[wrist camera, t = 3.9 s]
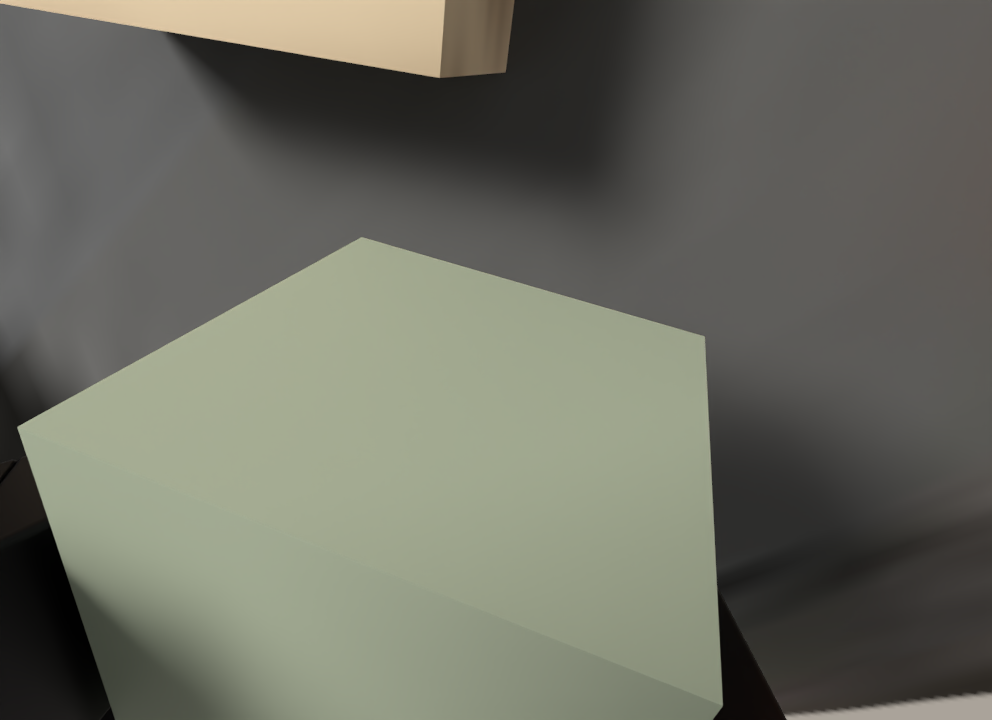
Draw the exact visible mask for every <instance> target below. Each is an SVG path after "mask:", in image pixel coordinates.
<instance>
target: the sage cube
mask: <svg viewBox="0 0 992 720" xmlns="http://www.w3.org/2000/svg"><path fill="white" fill-rule="evenodd" d="M17 428H18V431H19V434H20V437H21V439H22V442H23V445H24V448H25V451H26V454H27V457H28V460H29V463H30V466H31V469H32V472H33V475H34V478H35V481H36V484H37V487H38V490H39V493H40V496H41V499H42V502H43V505H44V508H45V511H46V514H47V517H48V520H49V523H50V526H51V529H52V532H53V535H54V538H55V541H56V544H57V547H58V550H59V553H60V556H61V559H62V562H63V565H64V568H65V571H66V574H67V577H68V580H69V583H70V586H71V589H72V592H73V595H74V598H75V601H76V604H77V607H78V610H79V613H80V616H81V619H82V622H83V625H84V628H85V631H86V634H87V637H88V640H89V643H90V646H91V649H92V652H93V655H94V658H95V661H96V664H97V667H98V670H99V673H100V676H101V679H102V682H103V685H104V688H105V691H106V694H107V697H108V700H109V703H110V706H111V709H112V712H113V715H114V718H115V720H713V719H714V717H715V716H716V715H717V713H718V712H719V711H720V709H721V708H722V706H723V698H722V677H721V657H720V637H719V616H718V596H717V576H716V556H715V535H714V515H713V495H712V475H711V454H710V434H709V414H708V394H707V373H706V353H705V337H704V336H701V335H698V334H694V333H691V332H687V331H684V330H680V329H677V328H673V327H670V326H667V325H663V324H660V323H656V322H653V321H649V320H646V319H642V318H639V317H635V316H632V315H629V314H625V313H622V312H618V311H615V310H611V309H608V308H604V307H601V306H597V305H594V304H591V303H587V302H584V301H580V300H577V299H573V298H570V297H566V296H563V295H559V294H556V293H553V292H549V291H546V290H542V289H539V288H535V287H532V286H528V285H525V284H521V283H518V282H515V281H511V280H508V279H504V278H501V277H497V276H494V275H490V274H487V273H483V272H480V271H477V270H473V269H470V268H466V267H463V266H459V265H456V264H452V263H449V262H445V261H442V260H439V259H435V258H432V257H428V256H425V255H421V254H418V253H414V252H411V251H408V250H404V249H401V248H397V247H394V246H390V245H387V244H383V243H380V242H376V241H373V240H370V239H366V238H363V237H361V238H359V239H358V240H356V241H354V242H352V243H350V244H348V245H347V246H345V247H343V248H341V249H339V250H338V251H336V252H334V253H332V254H330V255H328V256H327V257H325V258H323V259H321V260H319V261H318V262H316V263H314V264H312V265H310V266H309V267H307V268H305V269H303V270H301V271H299V272H298V273H296V274H294V275H292V276H290V277H289V278H287V279H285V280H283V281H281V282H280V283H278V284H276V285H274V286H272V287H270V288H269V289H267V290H265V291H263V292H261V293H260V294H258V295H256V296H254V297H252V298H250V299H249V300H247V301H245V302H243V303H241V304H240V305H238V306H236V307H234V308H232V309H231V310H229V311H227V312H225V313H223V314H221V315H220V316H218V317H216V318H214V319H212V320H211V321H209V322H207V323H205V324H203V325H202V326H200V327H198V328H196V329H194V330H192V331H191V332H189V333H187V334H185V335H183V336H182V337H180V338H178V339H176V340H174V341H172V342H171V343H169V344H167V345H165V346H163V347H162V348H160V349H158V350H156V351H154V352H153V353H151V354H149V355H147V356H145V357H143V358H142V359H140V360H138V361H136V362H134V363H133V364H131V365H129V366H127V367H125V368H124V369H122V370H120V371H118V372H116V373H114V374H113V375H111V376H109V377H107V378H105V379H104V380H102V381H100V382H98V383H96V384H94V385H93V386H91V387H89V388H87V389H85V390H84V391H82V392H80V393H78V394H76V395H75V396H73V397H71V398H69V399H67V400H65V401H64V402H62V403H60V404H58V405H56V406H55V407H53V408H51V409H49V410H47V411H46V412H44V413H42V414H40V415H38V416H36V417H35V418H33V419H31V420H29V421H27V422H26V423H24V424H22V425H20V426H18V427H17Z"/></svg>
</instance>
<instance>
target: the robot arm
mask: <svg viewBox="0 0 992 720" xmlns="http://www.w3.org/2000/svg"><path fill="white" fill-rule="evenodd" d="M717 596H718V616H719V637H720V657H721V677H722V698H723V706H722V708H721V709H720V711H719V712H718V713H717V715H716V716H715V717H714V719H713V720H786V718H785V716H784V714H783V712H782V710H781V708H780V706H779V704H778V702H777V700H776V698H775V697H774V695H773V693H772V691H771V689H770V687H769V685H768V683H767V681H766V679H765V677H764V675H763V673H762V672H761V670H760V668H759V666H758V664H757V662H756V660H755V658H754V656H753V654H752V652H751V650H750V648H749V647H748V645H747V643H746V641H745V639H744V637H743V635H742V633H741V631H740V629H739V627H738V625H737V623H736V622H735V620H734V618H733V616H732V614H731V612H730V610H729V608H728V606H727V604H726V602H725V600H724V599H723V597H722V595H721V593H720V591H719V589H718V587H717ZM0 720H115V718H114V715H113V712H112V709H111V706H110V703H109V700H108V697H107V694H106V691H105V688H104V685H103V682H102V679H101V676H100V673H99V670H98V667H97V664H96V661H95V658H94V655H93V652H92V649H91V646H90V643H89V640H88V637H87V634H86V631H85V628H84V625H83V622H82V619H81V616H80V613H79V610H78V607H77V604H76V601H75V598H74V595H73V592H72V589H71V586H70V583H69V580H68V577H67V574H66V571H65V568H64V565H63V562H62V559H61V556H60V553H59V550H58V547H57V544H56V541H55V538H54V535H53V532H52V529H51V526H50V523H49V520H48V517H47V514H46V511H45V508H44V505H43V502H42V499H41V496H40V493H39V490H38V487H37V484H36V481H35V478H34V475H33V472H32V469H31V466H30V463H29V460H28V457H27V456H24V457H21V458H20V459H19V460H18V461H16V460H9V461H6V462H2V463H0Z"/></svg>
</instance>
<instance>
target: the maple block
mask: <svg viewBox="0 0 992 720" xmlns="http://www.w3.org/2000/svg"><path fill="white" fill-rule="evenodd" d="M0 3H1V4H7V5H13V6H19V7H25V8H31V9H37V10H43V11H48V12H54V13H60V14H66V15H72V16H78V17H84V18H90V19H96V20H101V21H107V22H113V23H119V24H125V25H131V26H137V27H143V28H148V29H154V30H160V31H166V32H172V33H178V34H184V35H190V36H196V37H201V38H207V39H213V40H219V41H225V42H231V43H237V44H243V45H248V46H254V47H260V48H266V49H272V50H278V51H284V52H290V53H296V54H301V55H307V56H313V57H319V58H325V59H331V60H337V61H343V62H348V63H354V64H360V65H366V66H372V67H378V68H384V69H390V70H396V71H401V72H407V73H413V74H419V75H425V76H431V77H437V78H446V77H458V76H470V75H481V74H493V73H505V72H506V66H507V58H508V50H509V41H510V33H511V25H512V17H513V8H514V0H0Z"/></svg>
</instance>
